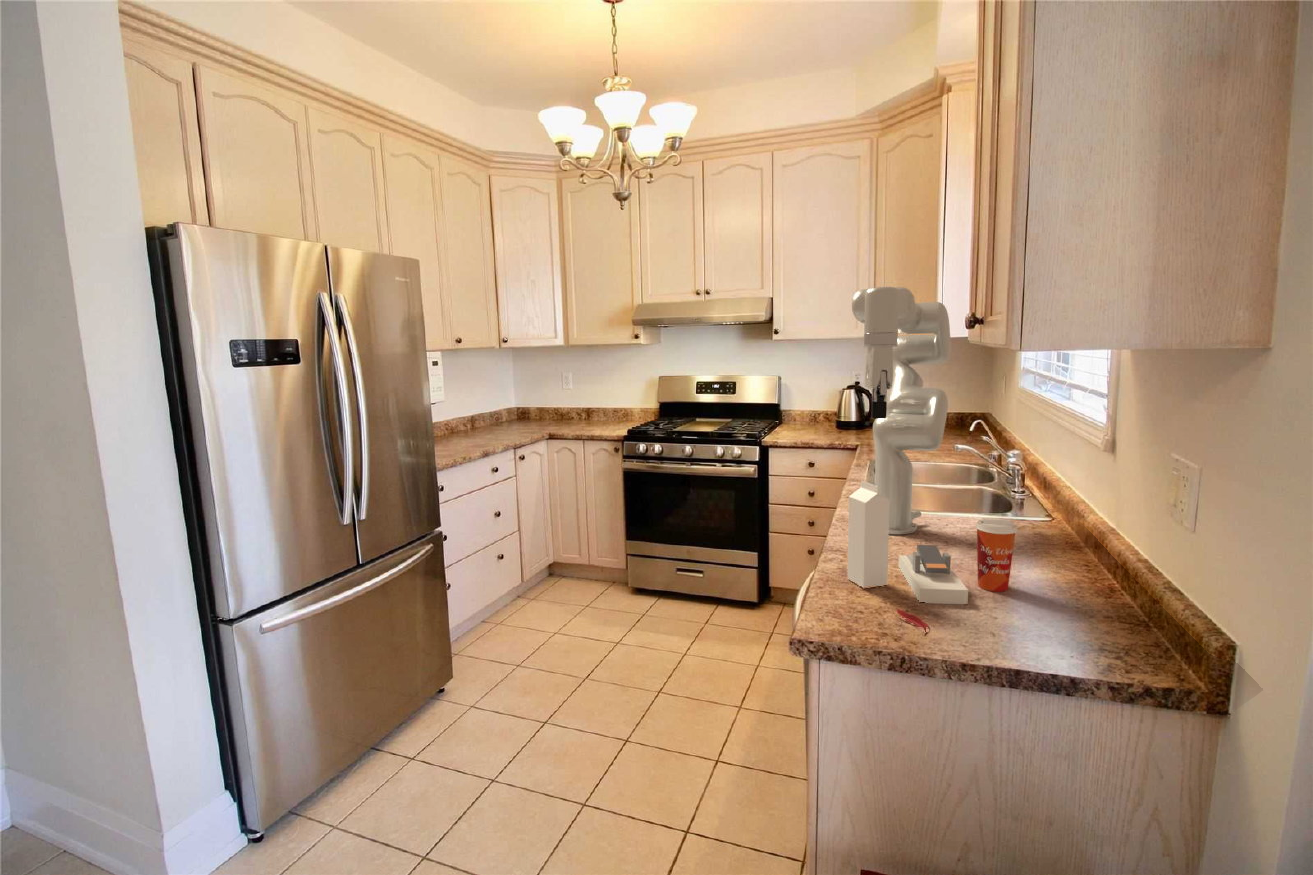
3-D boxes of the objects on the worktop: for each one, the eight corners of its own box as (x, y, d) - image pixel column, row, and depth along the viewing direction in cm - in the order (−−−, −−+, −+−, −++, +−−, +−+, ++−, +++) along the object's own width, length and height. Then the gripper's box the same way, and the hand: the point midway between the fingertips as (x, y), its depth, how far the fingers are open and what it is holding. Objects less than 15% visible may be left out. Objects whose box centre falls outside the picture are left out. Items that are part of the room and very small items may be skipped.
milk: (870, 576, 145) (873, 479, 142) (887, 586, 139) (891, 484, 136) (846, 580, 143) (848, 481, 140) (863, 590, 137) (866, 487, 134)
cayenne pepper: (935, 639, 116) (936, 629, 115) (909, 638, 116) (909, 628, 116) (914, 611, 128) (915, 601, 127) (890, 610, 128) (890, 601, 128)
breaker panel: (898, 567, 150) (899, 539, 149) (939, 568, 148) (941, 540, 147) (919, 602, 130) (920, 570, 129) (967, 604, 129) (969, 571, 128)
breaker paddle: (916, 549, 143) (917, 544, 142) (935, 550, 142) (936, 544, 142) (926, 572, 135) (926, 567, 134) (946, 573, 134) (947, 567, 134)
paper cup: (977, 592, 134) (980, 526, 132) (968, 579, 142) (972, 516, 140) (1019, 595, 133) (1023, 528, 130) (1008, 581, 140) (1012, 518, 138)
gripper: (859, 340, 162) (857, 414, 165) (869, 341, 147) (867, 422, 150) (890, 340, 161) (888, 414, 164) (904, 340, 146) (901, 422, 149)
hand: (878, 417), depth 157 cm, fingers closed
